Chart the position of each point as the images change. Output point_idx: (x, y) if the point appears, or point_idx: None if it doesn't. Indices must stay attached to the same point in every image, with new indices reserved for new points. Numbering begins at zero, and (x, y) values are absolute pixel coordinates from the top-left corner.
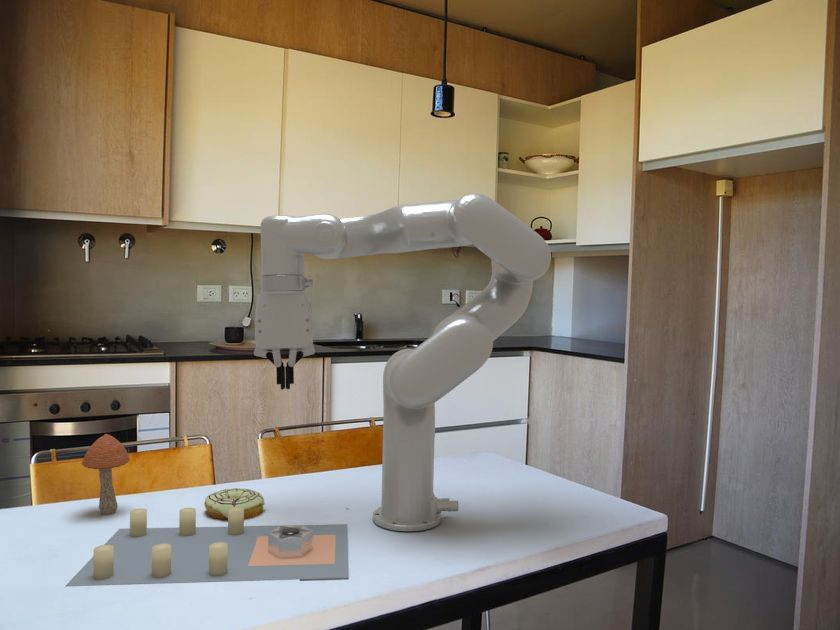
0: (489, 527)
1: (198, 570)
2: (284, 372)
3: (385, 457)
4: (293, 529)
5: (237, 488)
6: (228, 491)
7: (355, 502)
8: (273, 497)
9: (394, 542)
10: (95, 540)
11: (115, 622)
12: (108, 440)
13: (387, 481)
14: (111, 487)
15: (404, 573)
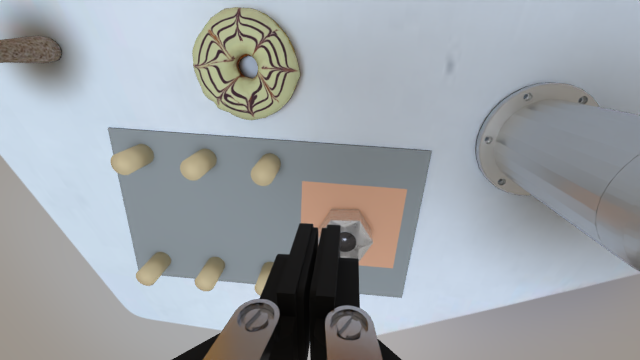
0: None
1: (250, 262)
2: (309, 343)
3: (560, 200)
4: (348, 237)
5: (239, 25)
6: (226, 45)
7: (473, 29)
8: None
9: (480, 219)
10: (99, 161)
11: (211, 328)
12: None
13: (531, 187)
14: (14, 55)
15: (462, 294)
